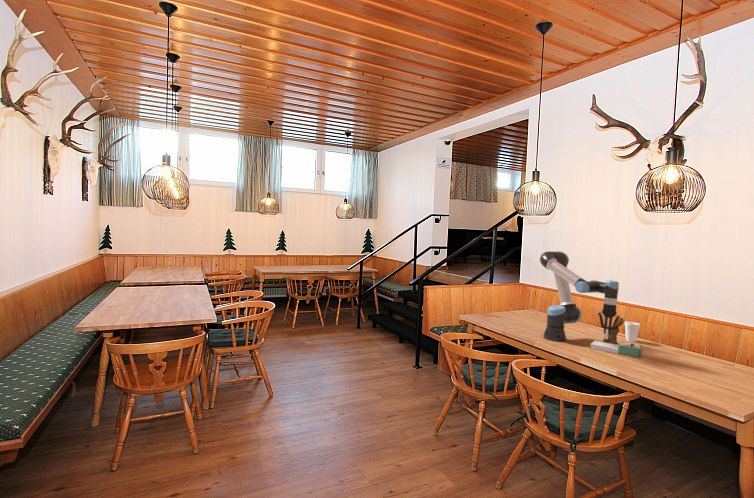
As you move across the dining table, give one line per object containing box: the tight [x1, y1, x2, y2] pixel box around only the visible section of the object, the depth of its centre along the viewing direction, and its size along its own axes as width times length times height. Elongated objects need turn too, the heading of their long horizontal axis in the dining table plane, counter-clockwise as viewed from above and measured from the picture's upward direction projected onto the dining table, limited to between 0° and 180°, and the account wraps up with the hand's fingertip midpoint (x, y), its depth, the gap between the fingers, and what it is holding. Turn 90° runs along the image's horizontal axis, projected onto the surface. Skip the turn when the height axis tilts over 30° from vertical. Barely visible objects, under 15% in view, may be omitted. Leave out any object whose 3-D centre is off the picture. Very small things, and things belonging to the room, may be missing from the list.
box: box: [617, 341, 644, 359], centre depth 263 cm, size 12×12×6 cm
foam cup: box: [624, 321, 641, 343], centre depth 298 cm, size 10×9×13 cm
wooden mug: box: [602, 317, 625, 345], centre depth 288 cm, size 9×14×18 cm, turn 104°
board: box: [590, 340, 619, 355], centre depth 272 cm, size 16×12×3 cm
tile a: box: [618, 342, 632, 347], centre depth 265 cm, size 6×6×3 cm
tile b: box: [631, 343, 640, 349], centre depth 262 cm, size 6×6×3 cm
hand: (606, 338), depth 272 cm, fingers closed
